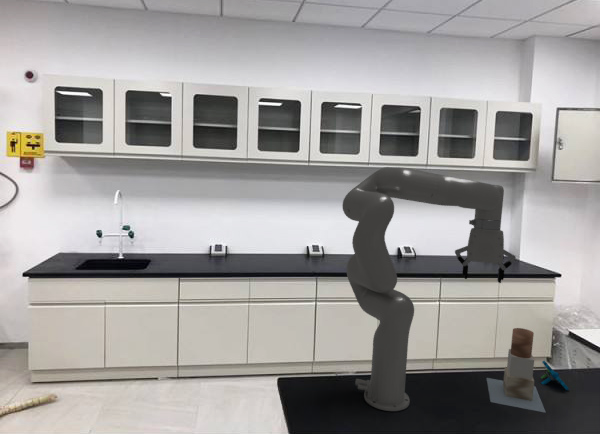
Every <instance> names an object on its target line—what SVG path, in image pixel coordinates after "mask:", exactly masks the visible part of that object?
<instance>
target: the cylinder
mask: <svg viewBox="0 0 600 434" xmlns="http://www.w3.org/2000/svg"><path fill="white" fill-rule="evenodd" d="M534 337H535V336H534V332H533V331H532V330H530V329H527V328H521V327H516V328H515V327H514V328H512V336H511V344H510V349H511V354H512V355H514V356H517V357H520V358H531V355H532V356H533V354H532V353H533V346H534V345H533V343H534Z"/></svg>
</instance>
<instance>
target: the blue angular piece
mask: <svg viewBox="0 0 600 434" xmlns="http://www.w3.org/2000/svg"><path fill="white" fill-rule="evenodd" d="M541 363H542V364H543V366H545V368H546V371H545V374H544V375H542V376H540V379H544V380H543V381H541V383H540V384H541V385H545V386H546V385H547V384H548V383H549V382H551V381H554V380H556V381H558V383H560V385H561V386H562V387H563V388H564V389H565V391H569V390H570V388H569V386H567V384H566V383H565V382H564V381H563V380H562V379H561V377H560V374H559V373H558V371H555V370H554V369H553V368H552V367H551V366H550V365H549V363H547V362H546V360H543V361H541ZM546 377H547V378H546ZM545 378H546V379H545Z"/></svg>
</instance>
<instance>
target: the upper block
mask: <svg viewBox="0 0 600 434" xmlns="http://www.w3.org/2000/svg"><path fill="white" fill-rule="evenodd" d="M533 356H534V355H533V354H532V355H531V358H520V357H517V356H514V355H512V354H511V348H509V349H508V355H507V362H506V363H507V364H506V367H507V370H508V373H509V376H511V377H517V378H523V379H529V380H532V377H533V378H534V376H533V375H534V369H535V368H534V367H535V366H534V365H535V359H534V357H533Z"/></svg>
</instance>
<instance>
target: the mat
mask: <svg viewBox="0 0 600 434" xmlns="http://www.w3.org/2000/svg"><path fill="white" fill-rule="evenodd" d="M503 381H504V380H502V379H495V378H490V377H486V382H487V389H488V395H489V400H490V403H495V404H499V405H504V406H510V407H514V408H520V409H525V410H529V411H535V412H539V413H540V412H541V413H547V412H546V410H545V408H544V404H543V402H542V400H541V398H540V397H541V396H540V395H539V392H538V389H537V387H536V386H535V385H534V390H533V399H532V401H529V400H524V399H519V398H513V397H508V396H506V395H505V391H504V387H503Z"/></svg>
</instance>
